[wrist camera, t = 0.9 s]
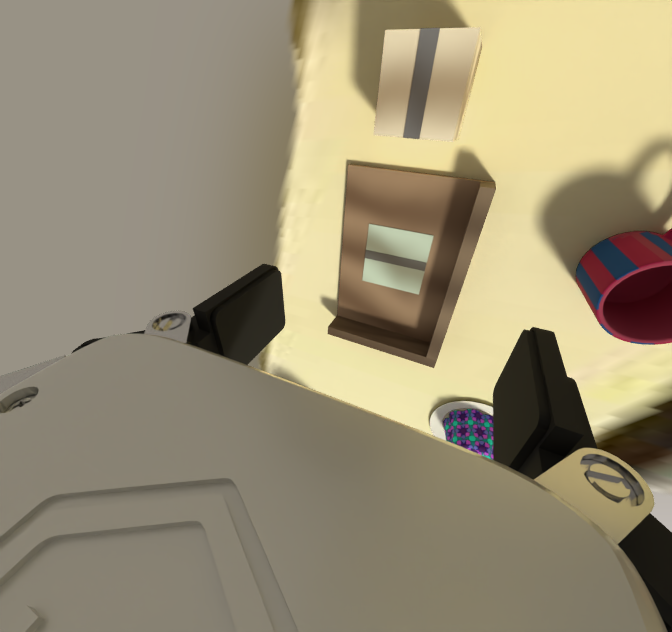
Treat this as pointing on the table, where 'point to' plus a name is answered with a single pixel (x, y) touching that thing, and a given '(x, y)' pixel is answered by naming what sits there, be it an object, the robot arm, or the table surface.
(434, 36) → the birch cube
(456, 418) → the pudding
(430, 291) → the wooden tray
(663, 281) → the mug
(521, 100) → the table surface
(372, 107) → the table surface
